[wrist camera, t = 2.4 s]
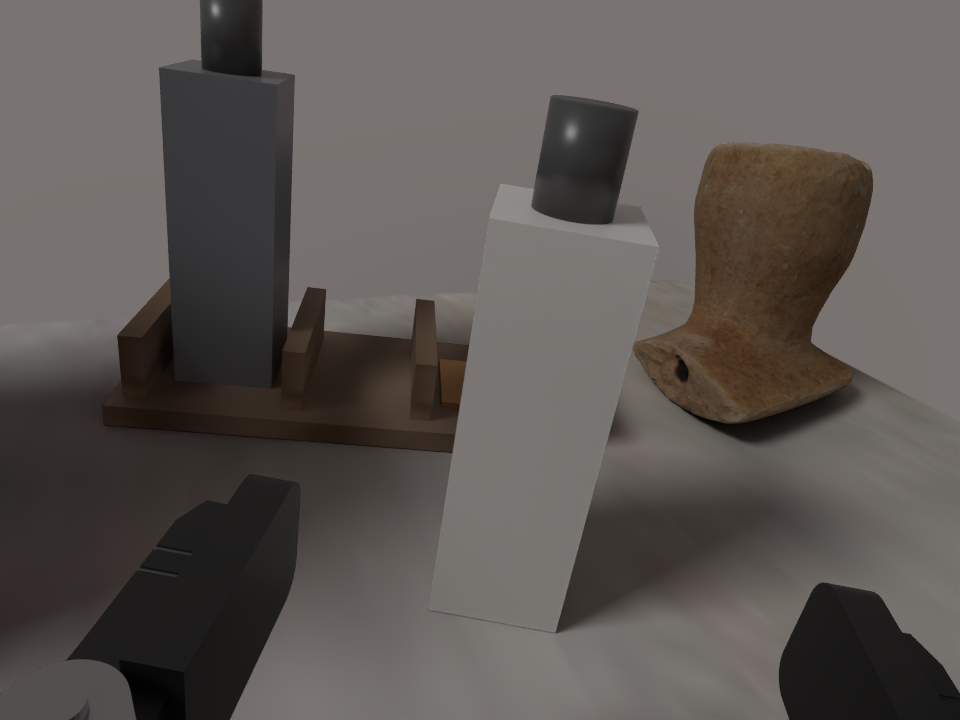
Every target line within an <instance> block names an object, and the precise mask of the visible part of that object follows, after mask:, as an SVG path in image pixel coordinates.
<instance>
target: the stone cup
mask: <svg viewBox="0 0 960 720" xmlns="http://www.w3.org/2000/svg"><path fill="white" fill-rule="evenodd" d="M872 192H873V178H872V171H871V168H870V166H869V165H868V164H867V163H865V162H863V161H860V160H857V159H855V158H853V157H851V156H850V155H848V154H843V153H838V152H826V151H823V150H820V149H814V148H806V147H799V146H791V145H782V144H759V143H727V144H719V145H717V146H716V147H714V148H713V150H712V151H711V153H710V154H709V156H708V158H707V161H706V163H705V166H704V169H703V173H702V177H701V181H700V184H699V188H698V192H697V195H696V199H695V207H694V224H695V247H696V277H695V278H696V279H695V303H694V306H693V310H692V313H691V315H690V317H689V319H688V321H687V322H686V323H685V324H684V325H682V326H680V327H678V328H676V329H674V330H672V331H669V332H667V333H664V334H662V335H659V336H656V337H653V338H649V339H645V340H641V341H638V342H635V344H634V346H633V351H634V353H635V356H636V357H637V359H638V360H639V361H640V363H641V364H642V366H643V367H644V369H645V370H646V372H647V374H648V375H649V377H650V378H651V379H652V380H653V381H654V382H655V384H656V385H657V386H658V387H659V389H660V390H661V391H662V392H663V393H664V394H665V395H666V396H667V397H668V398H669V399H670V400H671V401H673V402H675V403H676V404H678V405H679V406H680V407H682V408H683V409H685V410H687V411H690V412H691V413H693V414H695V415H698V416H700V417H703V418H705V419H710V420H715V421H719V422H722V423H728V424H738V423H745V422H750V421H754V420H758V419H761V418H765V417H768V416H771V415H774V414H778V413H781V412H784V411H787V410H790V409H793V408H796V407H798V406H802V405H805V404H808V403H810V402H813V401H815V400H818V399H820V398H822V397H825V396H827V395H829V394H832V393H833V392H835V391H837V390H839V389H842V388H844V387H845V386H847V385H848V384H849V383H850V382H851V381H852V378H853V376H854V373H853V371H852V370H851V368H849V367H848V366H846V365H845V364H843V363H842V362H840V361H838V360H837V359H835V358H833V357H832V356H830V355H828V354H827V353H825V352H823V351H822V350H821V349H819V348H818V347H816V346H815V345H813V344H812V343H811V335H812V327H813V325H814V323H815V321H816V319H817V317H818V315H819V312H820V311H821V309H822V307H823V306H824V304H825V302H826V300H827V299H828V297H829V295H830V293H831V292H832V290H833V289H834V287H835V286H836V284H837V283H838V281H839V280H840V279H841V277H842V275H843V274H844V273H845V271H846V270H847V268H848V267H849V265H850V263H851V261H852V259H853V257H854V254H855V252H856V249H857V246H858V243H859V241H860V238H861V235H862V232H863V229H864V227H865V222H866V218H867V215H868V211H869V206H870V202H871V197H872Z"/></svg>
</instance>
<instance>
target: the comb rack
mask: <svg viewBox="0 0 960 720" xmlns="http://www.w3.org/2000/svg"><path fill="white" fill-rule="evenodd" d="M325 300H326V289H319V288H309V287H308V288H307V290H306V293H305V295H304V298H303V300H302V303H301V305H300V308H299V310H298V313H297V315H296V318H295V320H294V323H293V325H292V328H290V327H287V341H286V343H285V346H284V348H283V351H282V363H281V365H280V368H279V370H278V373H277V376H276V378H275V381H274V383H273V386H272V389H267V388H256V387H245V386H233V385H222V384H211V383H199V382H188V381H177V380H175V371H174V352H173V332H172V312H171V292H170V278H169V280H168V281H167V282H166V283H165V284H164V285H163V286H162V287H161V288H160V289H159V291H158V292H157V293H156V294H155V295H154V296H153V297H152V298H151V299H150V300H149V301H148V302H147V304H146V305H145V306H144V307H143V308H142V309H141V310H140V311H139V312H138V314H137V315H136V316H135V317H134V318H133V319H132V320H131V321H130V322H129V323H128V324H127V325H126V326H125V328H124V329H123V330H122V331H121V332H120V333H119V334H118V335H117V337H118V349H119V360H120V371H121V382H120V383H119V385H118V386H117V387H116V388H115V390H114V391H113V392H112V394H111V395H110V396H109V397H108V399H107V400H106V401H105V402H104V404H103V405H102V410H103V419H104V425H114V426H127V427H139V428H152V429H165V430H177V431H190V432H203V433H215V434H228V435H241V436H253V437H266V438H279V439H291V440H304V441H317V442H329V443H342V444H355V445H367V446H380V447H393V448H405V449H418V450H431V451H443V452H453V447H454V440H455V434H456V427H457V421H458V415H459V408H460V402H461V395H462V389H463V382H464V376H465V369H466V363H467V357H468V350H469V345H460V344H450V343H440V342H436V325H435V306H434V301H430V300H421V299H416V308H415V317H414V325H413V334H412V340H410V339H400V338H390V337H380V336H370V335H360V334H350V333H340V332H330V331H324V318H325Z"/></svg>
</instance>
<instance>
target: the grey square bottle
mask: <svg viewBox="0 0 960 720" xmlns="http://www.w3.org/2000/svg"><path fill="white" fill-rule="evenodd" d="M200 15H201V16H200V18H201V58H202V61H198V60H189V61H185V62H180V63H176V64H172V65H168V66H163V67H159V75H160V95H161V115H162V133H163V152H164V153H163V154H164V172H165V173H164V174H165V193H166V213H167V231H168V232H167V233H168V253H169V272H170V292H171V312H172V332H173V352H174V371H175V380H177V381H188V382H199V383H211V384H222V385H233V386H245V387H256V388H267V389H272V386H273V383H274V381H275V378H276V376H277V373H278V370H279V368H280V365H281V363H282V351H283V348H284V346H285V343H286V341H287V327H288V291H289V254H290V222H291V186H292V185H291V184H292V151H293V117H294V116H293V115H294V81H295V75H292V74H286V73H279V72H272V71H266V70H262V0H200Z"/></svg>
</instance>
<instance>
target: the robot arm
mask: <svg viewBox="0 0 960 720" xmlns="http://www.w3.org/2000/svg"><path fill="white" fill-rule="evenodd" d="M299 506H300V486H299V484H298V483H296V482H291V481H285V480H280V479H275V478H269V477H264V476H259V475H253V474H250V475H248V476H247V477H246V478H245V479H244V481H243V482H242V484H241V485H240V486H239V488H238V489H237V491H236V492H235V494H234V495H233V497H232V498H231V499H230V501H229V502H228V504H223V503H217V502H212V501H205V502H204V503H202V504H201V505H199V506H197V507H196V508H194V509H193V510H191V511H189V512H188V513H186V514H185V515H183V516H181V517H180V518H178V519H177V520H176V521H175V522H174V524H173V525H172V526H171V527H170V529H169V530H168V531H167V533H166V534H165V535H164V536H163V538H162V539H161V540H160V542H159V543H158V544H157V548H156V550H153V551H152V552H151V553H150V554H149V556H148V557H147V558H146V560H145V561H144V562H143V563H142V565H141V567H140V570H139V572H138V571H136V572H135V574H134V575H133V576H132V577H131V579H130V580H129V581H128V583H127V584H126V585H125V586H124V588H123V589H122V590H121V592H120V593H119V594H118V595H117V597H116V598H115V599H114V601H113V602H112V603H111V604H110V606H109V607H108V608H107V610H106V611H105V612H104V613H103V615H102V616H101V617H100V619H99V620H98V621H97V622H96V624H95V625H94V626H93V628H92V629H91V630H90V631H89V633H88V634H87V635H86V637H85V638H84V639H83V640H82V642H81V643H80V644H79V646H78V647H77V648H76V649H75V651H74V652H73V653H72V654H71V655H70V657H69V658H68V659H67V660H66V661H62V662H58V663H54V664H51V665H48V666H45V667H42V668H40V669H37V670H35V671H33V672H31V673H29V674H27V675H26V676H24V677H22V678H21V679H19V680H17V681H16V682H15V683H13V684H12V685H11V686H9V687H8V688H7V689H6V690H5V691H4V692H2V693H1V694H0V720H230V718H231V716H232V714H233V712H234V710H235V707H236V705H237V703H238V701H239V699H240V697H241V695H242V693H243V690H244V688H245V686H246V684H247V682H248V680H249V678H250V676H251V674H252V671H253V669H254V667H255V665H256V663H257V661H258V659H259V657H260V654H261V652H262V650H263V648H264V646H265V644H266V642H267V640H268V638H269V635H270V633H271V631H272V629H273V627H274V625H275V623H276V621H277V618H278V616H279V614H280V612H281V610H282V608H283V606H284V604H285V601H286V599H287V596H288V594H289V591H290V588H291V584H292V581H293V577H294V572H295V567H296V558H297V541H298V523H299ZM779 686H780V692H781V696H782V700H783V703H784V705H785V708H786V711H787V714H788V717H789V720H960V693H959V691H958V690H957V688H956V687H955V685H954V683H953V682H952V680H951V679H950V677H949V675H948V674H947V672H946V671H945V669H944V667H943V666H942V665H941V664H940V663H939V662H938V661H937V660H936V659H935V658H934V657H933V656H932V655H931V654H930V653H929V652H928V651H927V650H926V649H925V648H924V647H923V646H922V645H921V644H920V643H919V642H918V641H917V640H916V639H915V638H914V637H913V636H912V635H911V634H907V633H902V632H901V630H900V628H899V627H898V625H897V623H896V622H895V620H894V618H893V617H892V615H891V613H890V611H889V610H888V608H887V606H886V605H885V603H884V601H883V600H882V599H881V597H880V596H879V595H878V594H876V593H875V592H872V591H867V590H861V589H856V588H850V587H845V586H840V585H834V584H829V583H820V584H818V585H817V586H816V587H815V588H814V589H813V591H812V592H811V594H810V596H809V599H808V601H807V603H806V605H805V607H804V609H803V611H802V613H801V615H800V618H799V620H798V622H797V624H796V626H795V628H794V630H793V632H792V634H791V636H790V639H789V641H788V643H787V645H786V647H785V649H784V651H783V654H782V657H781V661H780V667H779Z"/></svg>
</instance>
